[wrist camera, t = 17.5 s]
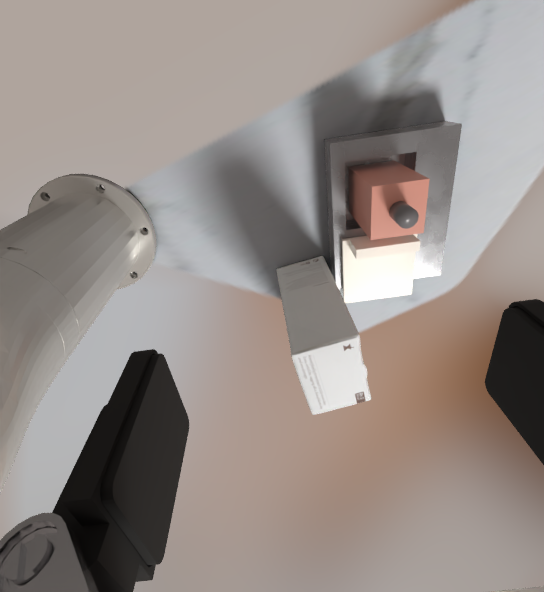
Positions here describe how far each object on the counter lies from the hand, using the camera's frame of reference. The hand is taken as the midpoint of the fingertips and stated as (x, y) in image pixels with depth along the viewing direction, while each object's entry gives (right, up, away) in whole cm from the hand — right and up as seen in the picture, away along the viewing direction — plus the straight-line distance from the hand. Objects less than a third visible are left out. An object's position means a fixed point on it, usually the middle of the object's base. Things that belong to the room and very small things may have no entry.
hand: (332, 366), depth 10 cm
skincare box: (+3, +3, +32) cm, 32 cm away
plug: (+8, +13, +25) cm, 30 cm away
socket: (+10, +11, +27) cm, 31 cm away
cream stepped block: (+10, +5, +27) cm, 29 cm away
